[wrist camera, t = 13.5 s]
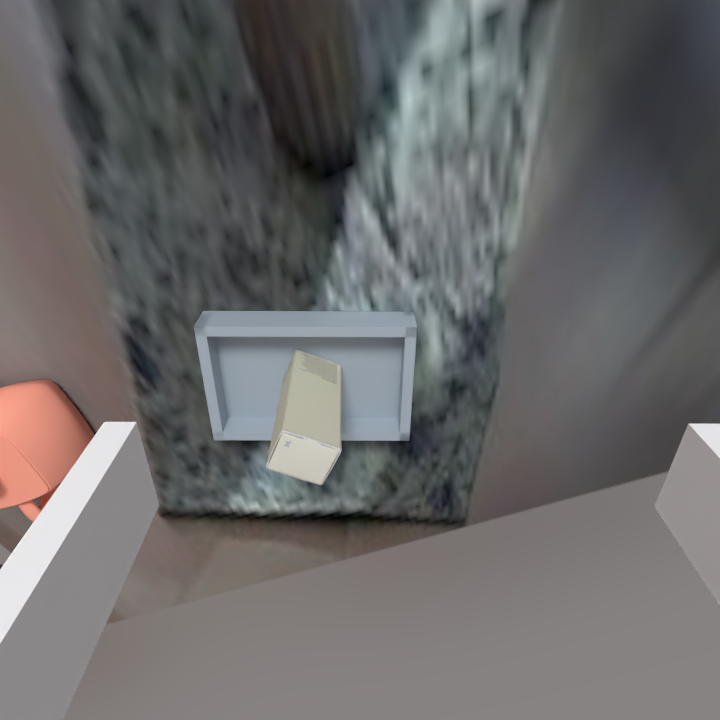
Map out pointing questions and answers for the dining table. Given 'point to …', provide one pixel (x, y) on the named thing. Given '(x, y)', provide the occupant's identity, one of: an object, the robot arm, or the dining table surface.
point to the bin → (319, 338)
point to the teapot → (37, 442)
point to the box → (307, 419)
